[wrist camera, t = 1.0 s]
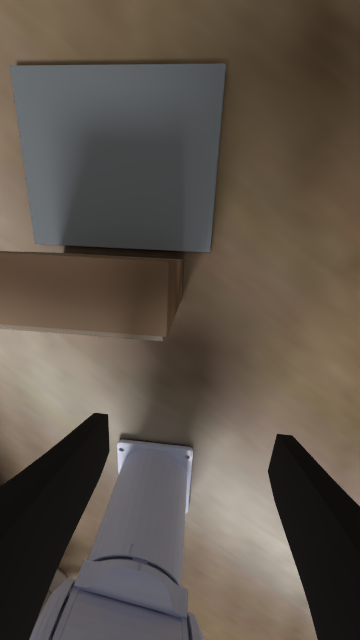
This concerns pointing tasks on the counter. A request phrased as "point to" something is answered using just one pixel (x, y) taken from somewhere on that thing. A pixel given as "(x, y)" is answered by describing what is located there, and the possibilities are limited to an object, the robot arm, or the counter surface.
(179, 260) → the brown wooden block
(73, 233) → the mat
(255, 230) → the counter surface
